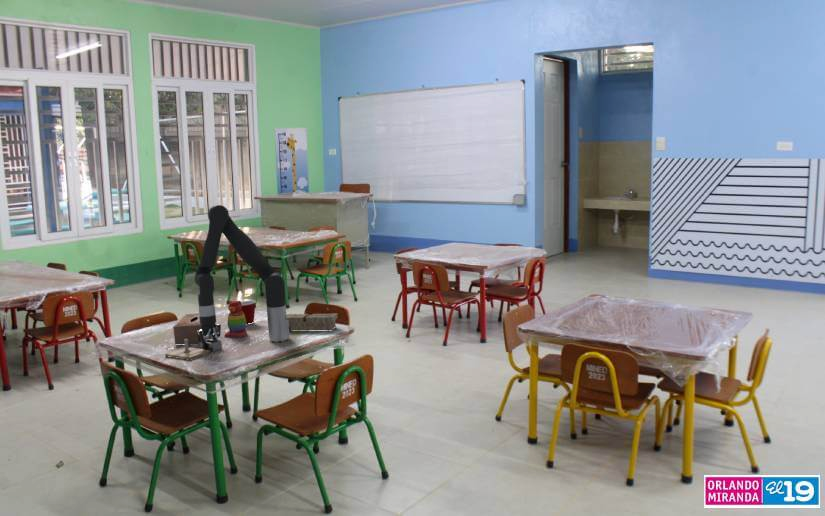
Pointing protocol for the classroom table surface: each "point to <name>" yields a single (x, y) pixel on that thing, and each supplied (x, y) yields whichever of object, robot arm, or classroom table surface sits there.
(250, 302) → the plastic cup
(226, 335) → the stacking bear
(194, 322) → the tissue box cover
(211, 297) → the robot arm
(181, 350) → the keeper board
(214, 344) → the grey storage bin
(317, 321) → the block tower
